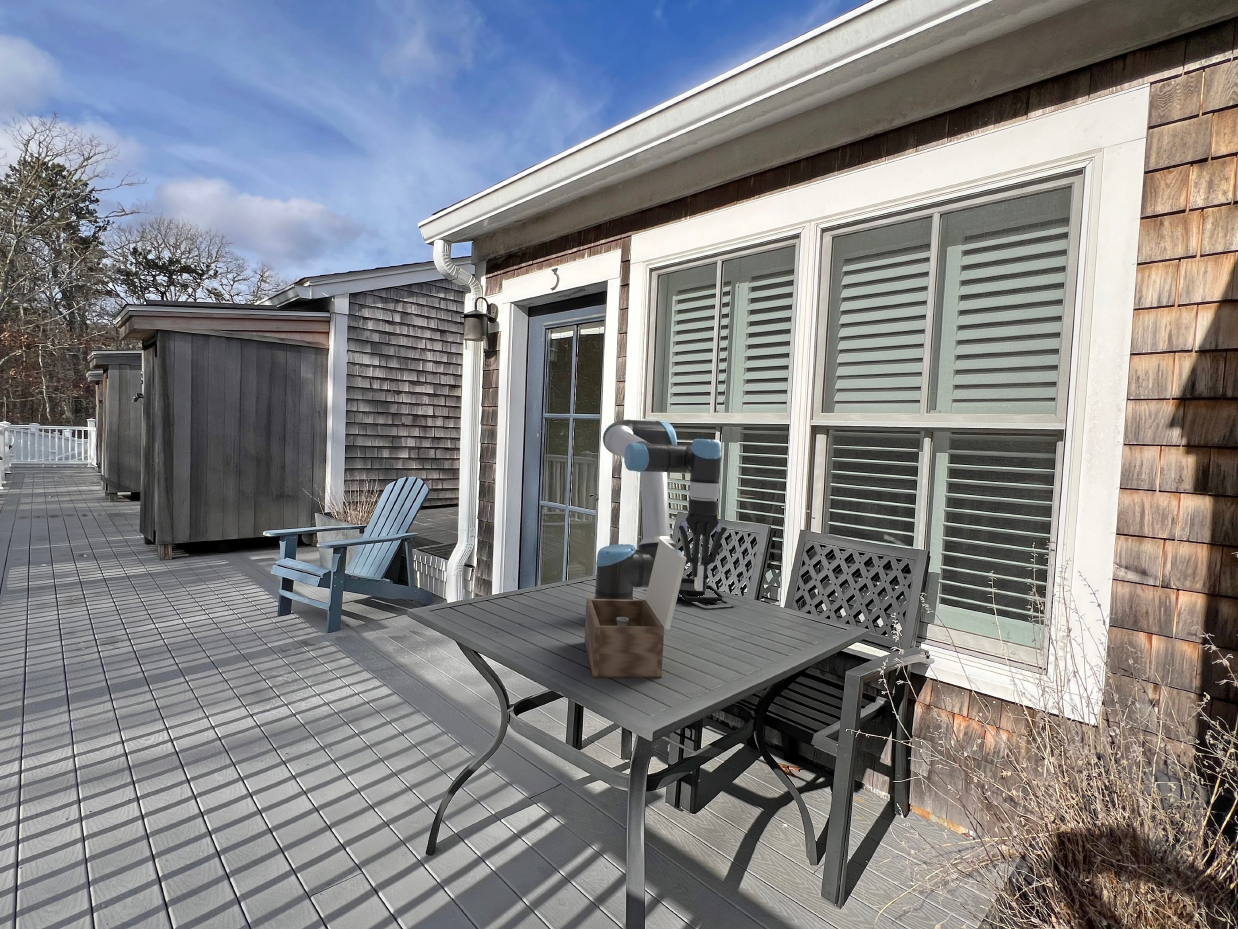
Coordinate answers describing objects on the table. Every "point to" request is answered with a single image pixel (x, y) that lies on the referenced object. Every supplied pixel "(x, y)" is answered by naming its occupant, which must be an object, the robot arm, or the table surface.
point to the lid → (665, 582)
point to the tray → (692, 594)
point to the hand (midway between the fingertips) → (698, 589)
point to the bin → (623, 639)
